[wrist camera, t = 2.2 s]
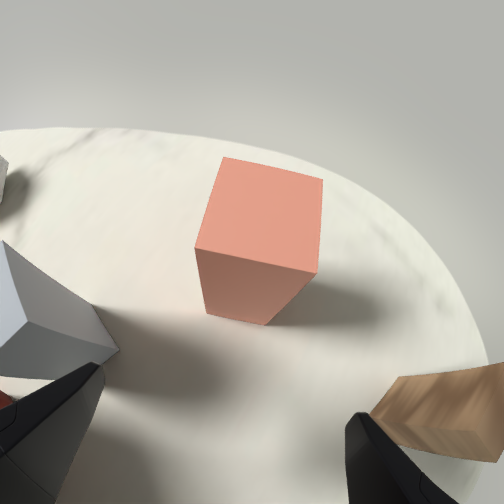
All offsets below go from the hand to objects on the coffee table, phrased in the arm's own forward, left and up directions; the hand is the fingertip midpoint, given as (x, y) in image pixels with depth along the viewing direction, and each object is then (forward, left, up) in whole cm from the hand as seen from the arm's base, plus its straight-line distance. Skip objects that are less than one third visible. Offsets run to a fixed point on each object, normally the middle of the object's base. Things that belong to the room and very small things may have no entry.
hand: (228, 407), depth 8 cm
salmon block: (+6, +5, -14) cm, 16 cm away
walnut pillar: (+9, -14, -14) cm, 22 cm away
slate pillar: (-8, +10, -14) cm, 18 cm away
